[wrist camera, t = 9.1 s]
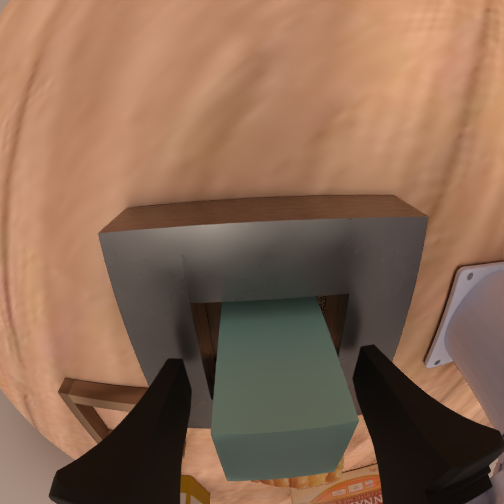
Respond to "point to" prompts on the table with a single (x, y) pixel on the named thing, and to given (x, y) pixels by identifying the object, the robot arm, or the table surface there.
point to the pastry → (307, 479)
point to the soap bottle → (193, 492)
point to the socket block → (261, 273)
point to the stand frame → (98, 403)
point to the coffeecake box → (344, 489)
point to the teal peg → (279, 392)
